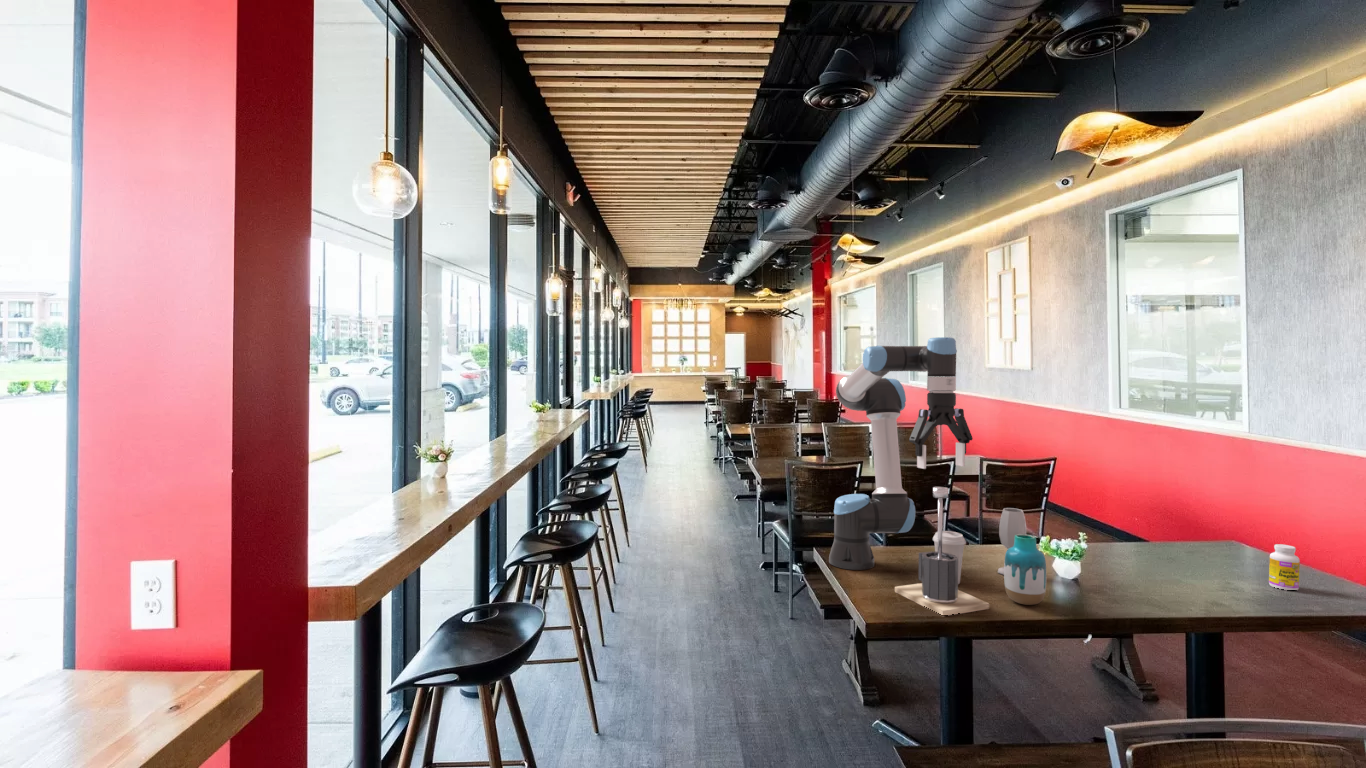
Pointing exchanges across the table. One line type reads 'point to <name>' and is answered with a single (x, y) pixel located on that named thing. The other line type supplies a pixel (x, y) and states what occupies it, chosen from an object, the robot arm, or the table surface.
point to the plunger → (940, 518)
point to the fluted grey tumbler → (939, 577)
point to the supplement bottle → (1284, 568)
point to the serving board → (961, 606)
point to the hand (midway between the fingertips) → (941, 466)
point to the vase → (1025, 571)
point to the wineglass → (1011, 527)
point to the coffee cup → (952, 546)
